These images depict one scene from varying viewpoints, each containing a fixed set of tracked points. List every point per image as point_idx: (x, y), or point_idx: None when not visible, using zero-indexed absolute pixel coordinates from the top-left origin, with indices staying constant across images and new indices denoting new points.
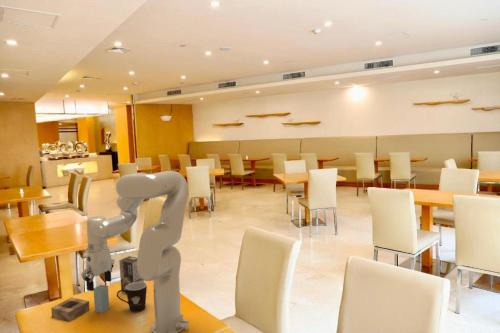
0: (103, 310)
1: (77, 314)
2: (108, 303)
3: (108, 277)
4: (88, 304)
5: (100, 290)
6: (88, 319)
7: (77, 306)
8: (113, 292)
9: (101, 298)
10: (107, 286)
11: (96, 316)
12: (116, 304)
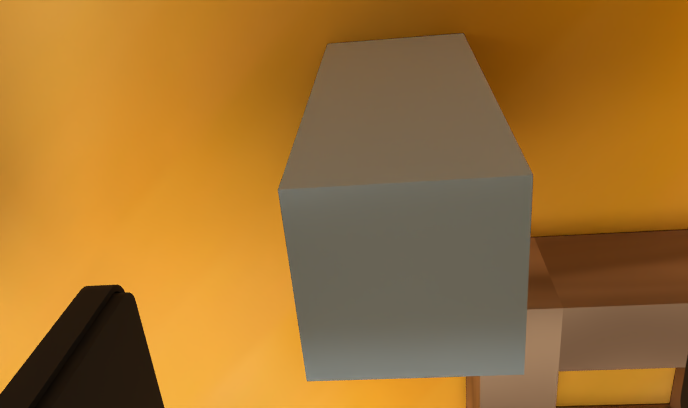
0: (439, 40)
1: (666, 248)
2: (330, 65)
3: (98, 394)
4: None
5: (530, 176)
6: (672, 60)
7: (673, 322)
8: (16, 328)
9: (490, 100)
10: (293, 187)
11: (570, 26)
12: (194, 48)
